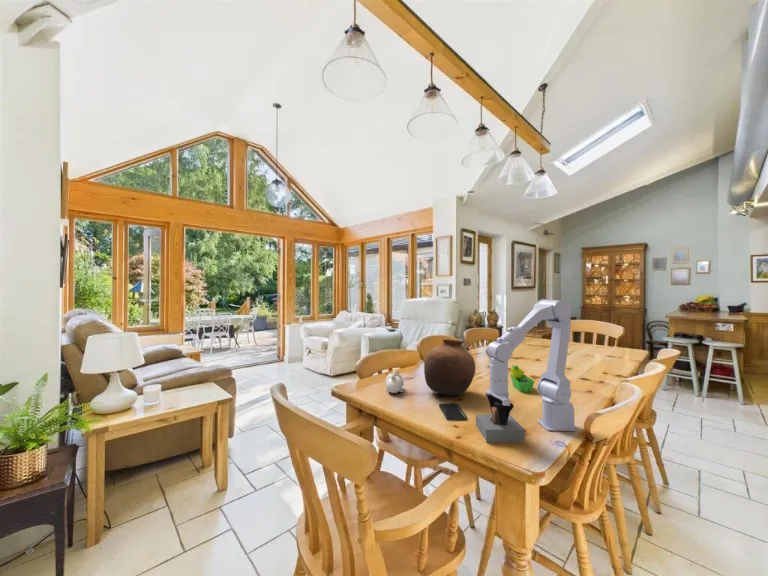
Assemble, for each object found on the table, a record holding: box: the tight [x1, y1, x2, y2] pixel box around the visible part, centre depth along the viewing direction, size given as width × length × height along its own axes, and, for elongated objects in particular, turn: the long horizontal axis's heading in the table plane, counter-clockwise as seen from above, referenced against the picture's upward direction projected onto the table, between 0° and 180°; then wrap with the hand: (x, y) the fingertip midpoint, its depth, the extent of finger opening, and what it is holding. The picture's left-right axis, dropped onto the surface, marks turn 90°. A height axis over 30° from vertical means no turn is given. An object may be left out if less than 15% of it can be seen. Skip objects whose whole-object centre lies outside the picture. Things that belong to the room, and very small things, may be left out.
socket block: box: [475, 413, 526, 443], centre depth 108 cm, size 12×12×4 cm
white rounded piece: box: [384, 370, 405, 394], centre depth 152 cm, size 10×8×15 cm
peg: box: [491, 407, 500, 425], centre depth 108 cm, size 3×3×8 cm
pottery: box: [423, 338, 476, 397], centre depth 148 cm, size 23×23×25 cm
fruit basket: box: [510, 364, 536, 393], centre depth 154 cm, size 11×9×11 cm
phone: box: [438, 402, 468, 421], centre depth 126 cm, size 8×1×15 cm
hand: (498, 419), depth 108 cm, fingers open, 7 cm apart
